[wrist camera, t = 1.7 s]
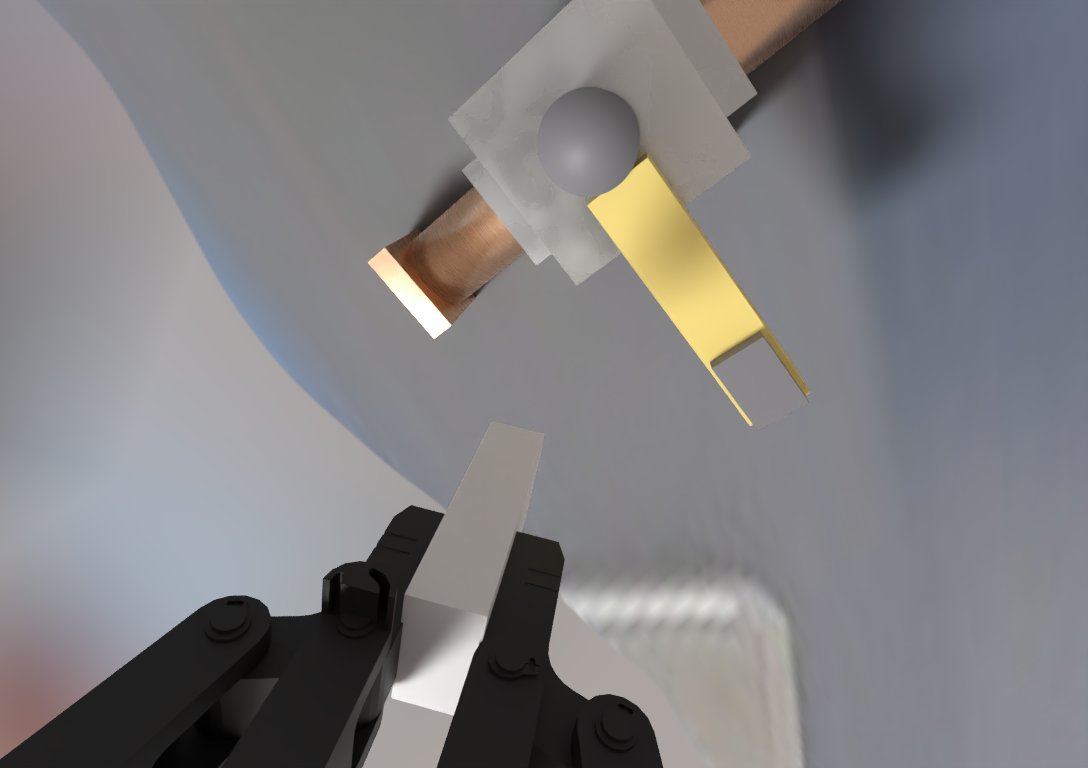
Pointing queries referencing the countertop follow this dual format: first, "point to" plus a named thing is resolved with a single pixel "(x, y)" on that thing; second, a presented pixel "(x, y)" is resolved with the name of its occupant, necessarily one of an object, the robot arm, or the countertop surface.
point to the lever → (667, 250)
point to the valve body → (561, 66)
